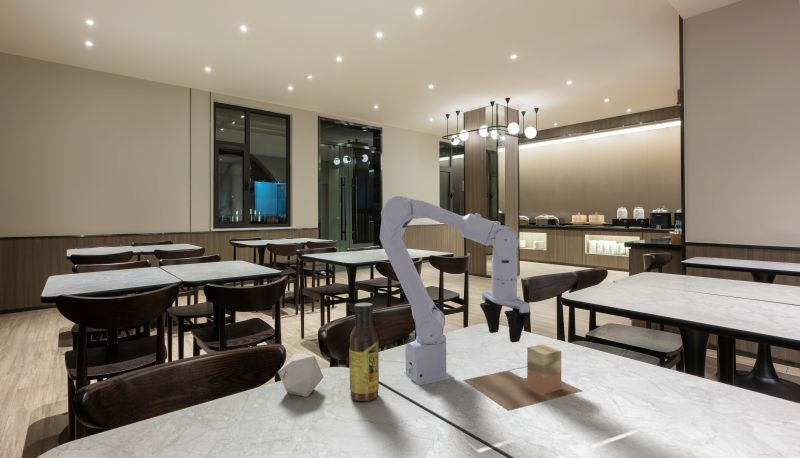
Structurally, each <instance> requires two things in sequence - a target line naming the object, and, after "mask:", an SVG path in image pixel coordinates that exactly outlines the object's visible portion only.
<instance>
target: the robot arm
mask: <svg viewBox="0 0 800 458" xmlns="http://www.w3.org/2000/svg"><path fill="white" fill-rule="evenodd" d="M380 217H381V223H380V232H379V240H380V243H381V246H382V248H383V250H384V252H385V254H386V255H387V258H388V260H389V262H390V265H391V267H392V268H393V271H394V273H395V275H396V277H397V279H398V282H399V284H400V286H401V287H402V289H403V290H402V291H403V292H404V294H405V297H406V299H407V301H408V303H409V304H410V309H411V315H412V319H413V320H414V323H415V334H416V336H415V340H413V341H411V342H408V343H407V344H406V346H405V352H404V353H405V371H404V374H405V375H406V376H407V377H408V378H409V379H410V380H411V381H413V382H414V383H415V384H417V386H422V385H423V386H424V385H427V384H431V383H432V384H433V383H437V382H442V381H446V380H447V381H448V380H451V379H455V378H454V377H455V376H454V375H453V374H451V373H449V372H448V371H447V336H446V335H445V334H444V326H445V325H446V316H445V314H444V313H443V311H441V309H439V308H438V307H437V305H436V304H435V302H434V300H433V299H432V298H431V297H430V295H429V294H428V291H427V289H426V287H425V285H424V282H423V281H422V278H421V276H420V275H419V272H418V270H417V268H416V266H415V264H414V261H413V259H412V257H411V255H410V254H409V251H408V248H407V246H406V244H405V242H404V240H403V236H404V234H405V231H406V228H407V227H408V225H409V224H410V223H411V221H412V220H413V219H414V220H416V219H425V218H427V219H430V220H433V221H435V222H438V223H441V224H444V225H447V226H450V227H453V228H455V229H457V230H458V232H459V233H460V235H461V237H463V238H465V239H468V240H471V241H473V242H475V243H479V244H480V245H484V246H492V258H491V291H484V292H483V291H482V293H481V300H482V301H484V302H480V303H479V307H480V308H481V310H482V312H483V314H484V316H485V320H486V324H487V327H488V332H489V333H490V334H495V333H499V330H500V319H501V318H500V317H501V313H502V309H503V307H506V308H509V309H511V310H505V311H504V315H505V317H506V320H507V321H506V322H507V325H508V333H509V337H508V338H509V340H510V341H509V342H510V343H518V342H520V339H521V337H522V333H523V330H524V327H525V325H526V323H527V320H528V318H529V317H530V316H531V311H530V303H529V302H526V301H525V300H523V299H521V296H520V295H518V258H517V255H518V253H517V248H518V247H519V245H520V239H519V236H518V234H517V232H516V231H515V230H514V229H513V228H510V227H508V226H507V225H501V222H500V221H492V220H489V219H486V218H484V217H482V214H480V213H478V212H476V213H474V214H473V213H468V214H466V215H464V216H463V215H460V214H458V213H455V212H452V211H450V210H447V209H445V208H442V207H439V206H438V205H435V204H432V203H431V202H427V201H424V200H419V199H415V198H414V199H412V198H409V197H404V196H402V195H393V196H391V197H390V198H388V199H387V200H386V203H385V204H384V205H383V208H382V210H381V212H380Z"/></svg>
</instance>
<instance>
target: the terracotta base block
mask: <svg viewBox="0 0 800 458" xmlns="http://www.w3.org/2000/svg"><path fill="white" fill-rule="evenodd" d="M561 381H562V373H561V374H557V375H553V376H549V377H544V378H543V377H541V376H539V375H537V374H535V373H533V372H531V371H529V370H527V385H528V386H530V387H532V388H534V389H536V390H538V391H539V392H541V393H543V394H545V393H549V392H553V391H557V390H561Z"/></svg>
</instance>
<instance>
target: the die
mask: <svg viewBox="0 0 800 458" xmlns="http://www.w3.org/2000/svg"><path fill="white" fill-rule="evenodd" d="M277 374H278V375H279V377H280V380H281V383H282V384H283V387H284V389H285V391H286V393H287V394H291V395H295V396H300V397H304V398H308V397H309V396H310V394H311V393H312V392H313V390H315V389H316V387H317V386H318V385H319V384H320V382H321V381H322V380H323V379H324V375H323V372H322V369H321V367H320V365H319V363H318V361H317V358H316V356H315V355H310V354H303V353H296V352H294V354H292V356H291V357H290V358H289V359H288V360H287V361H285V363H284V364H283V365H282V367H281V368H280V369H279V370H278V371H277Z"/></svg>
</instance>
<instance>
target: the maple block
mask: <svg viewBox="0 0 800 458" xmlns="http://www.w3.org/2000/svg"><path fill="white" fill-rule="evenodd" d="M526 352H527V355H526V357H527V358H526V359H527V362H526V363H527V364H526V366H527V370H529V371H531V372H533V373H535V374H537V375H539V376H541V377H543V378H544V377H549V376H553V375H557V374H561V375H562V350H560V349H557V348H555V347H552V346H550V345H548V344H545V343H543V344H538V345H534V346H527V348H526Z"/></svg>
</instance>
